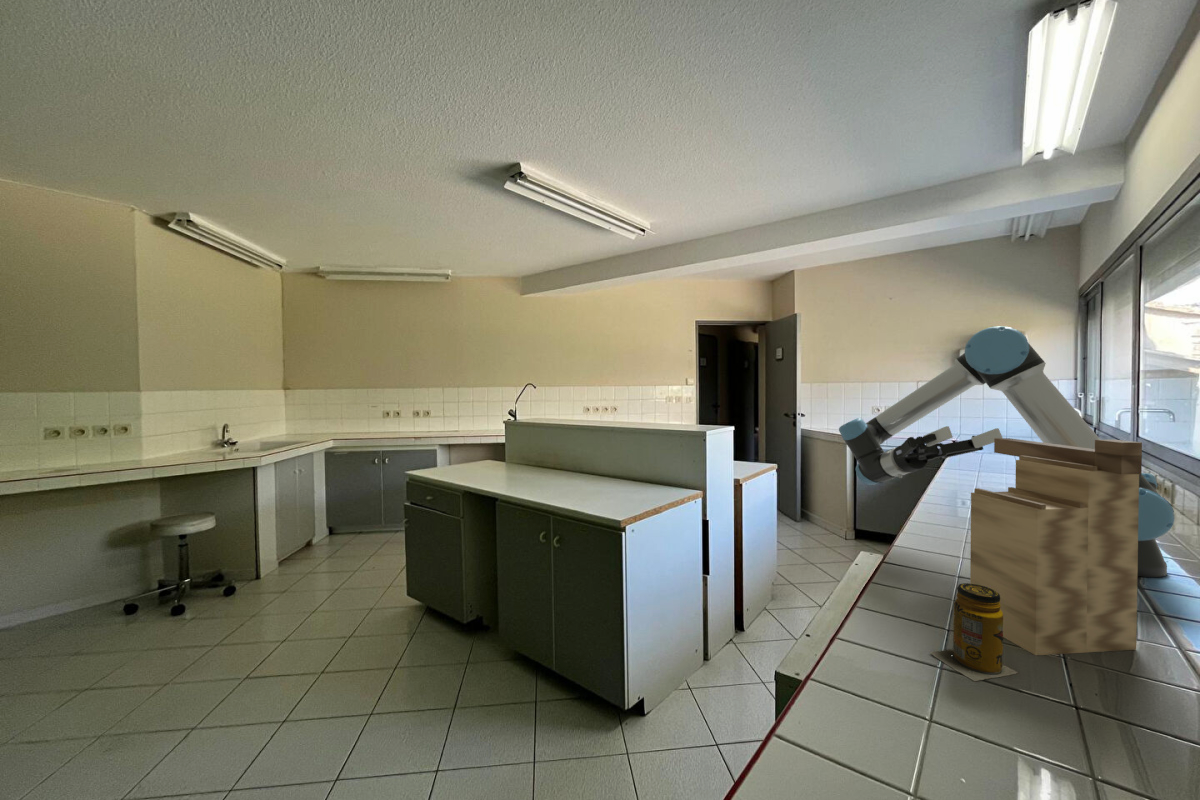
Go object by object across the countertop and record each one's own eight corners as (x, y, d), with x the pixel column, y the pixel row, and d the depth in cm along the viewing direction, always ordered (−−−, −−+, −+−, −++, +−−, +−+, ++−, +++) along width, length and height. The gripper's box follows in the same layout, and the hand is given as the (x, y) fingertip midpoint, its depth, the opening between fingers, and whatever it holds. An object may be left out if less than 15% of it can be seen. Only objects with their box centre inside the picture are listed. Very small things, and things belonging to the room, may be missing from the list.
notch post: (1057, 613, 87) (1059, 454, 86) (1136, 649, 75) (1139, 465, 74) (970, 618, 85) (971, 456, 85) (1035, 655, 73) (1037, 467, 73)
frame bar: (1008, 452, 94) (1009, 428, 94) (1141, 474, 70) (1141, 442, 70) (994, 452, 95) (994, 428, 94) (1121, 474, 71) (1121, 442, 70)
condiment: (1018, 673, 69) (1019, 596, 69) (974, 682, 67) (975, 603, 67) (969, 647, 76) (970, 577, 76) (929, 654, 74) (929, 582, 74)
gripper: (948, 473, 123) (1026, 449, 104) (867, 472, 119) (933, 446, 100) (939, 447, 127) (1013, 419, 108) (859, 445, 123) (922, 415, 104)
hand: (975, 432), depth 104 cm, fingers open, 13 cm apart
